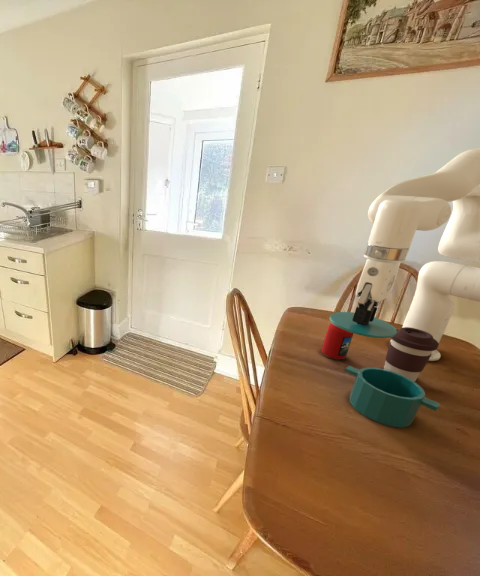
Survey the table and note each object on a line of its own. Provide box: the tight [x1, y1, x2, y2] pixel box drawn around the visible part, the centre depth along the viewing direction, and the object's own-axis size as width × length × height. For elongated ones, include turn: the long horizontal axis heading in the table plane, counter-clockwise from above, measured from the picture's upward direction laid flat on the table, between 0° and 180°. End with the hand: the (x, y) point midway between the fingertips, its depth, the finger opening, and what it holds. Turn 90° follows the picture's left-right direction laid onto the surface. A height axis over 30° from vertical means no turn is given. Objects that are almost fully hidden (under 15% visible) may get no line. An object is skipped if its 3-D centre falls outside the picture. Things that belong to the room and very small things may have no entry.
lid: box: [329, 306, 397, 339], centre depth 81 cm, size 14×14×6 cm
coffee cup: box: [383, 327, 440, 382], centre depth 92 cm, size 10×10×15 cm
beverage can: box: [320, 322, 355, 360], centre depth 103 cm, size 7×7×12 cm
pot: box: [344, 365, 441, 428], centre depth 80 cm, size 13×18×8 cm
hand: (362, 320), depth 81 cm, fingers closed on lid, 2 cm apart
